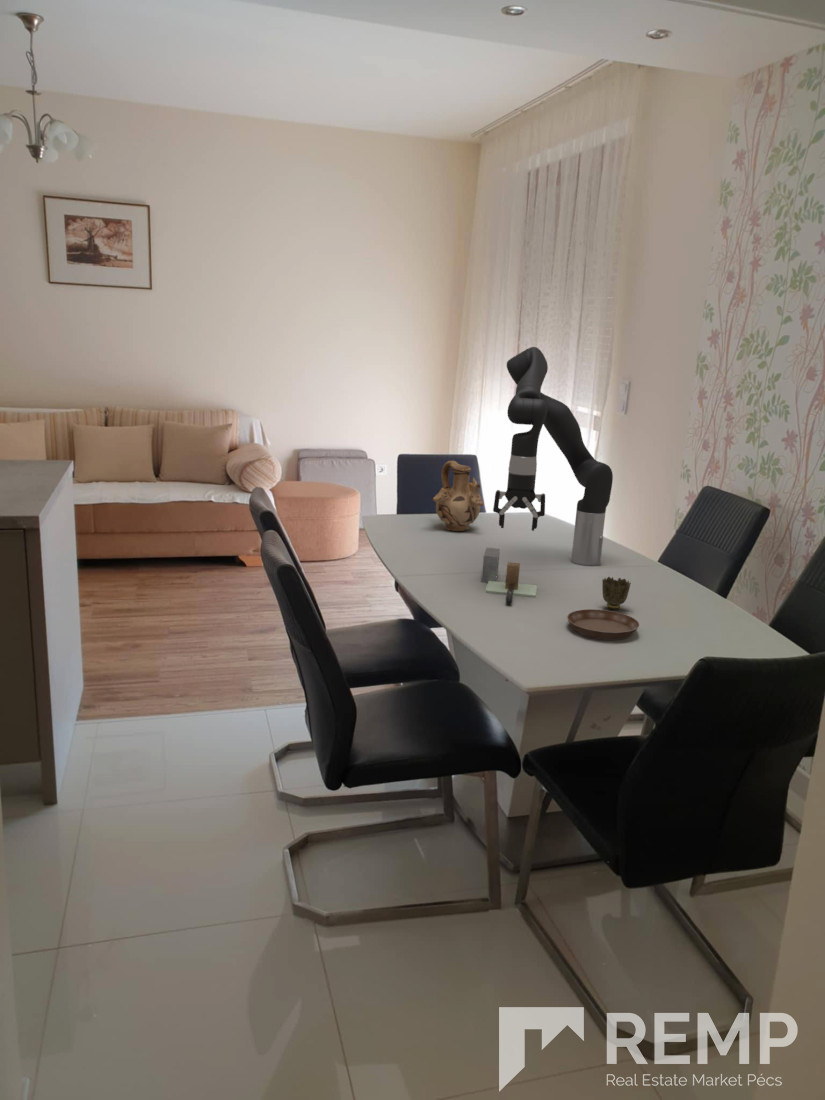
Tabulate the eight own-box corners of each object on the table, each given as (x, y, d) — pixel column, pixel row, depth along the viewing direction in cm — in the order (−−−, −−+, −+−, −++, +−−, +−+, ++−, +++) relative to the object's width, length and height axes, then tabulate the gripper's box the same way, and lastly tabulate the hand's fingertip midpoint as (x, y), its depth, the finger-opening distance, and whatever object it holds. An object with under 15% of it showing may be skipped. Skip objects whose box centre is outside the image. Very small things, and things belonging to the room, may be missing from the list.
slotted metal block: (497, 574, 254) (499, 548, 252) (495, 583, 244) (497, 556, 242) (484, 573, 255) (486, 547, 253) (481, 582, 245) (483, 555, 243)
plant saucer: (551, 628, 210) (553, 617, 209) (591, 615, 222) (592, 604, 221) (612, 649, 198) (614, 637, 197) (651, 633, 210) (652, 622, 209)
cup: (627, 606, 230) (631, 578, 228) (626, 614, 223) (630, 585, 221) (600, 603, 232) (603, 575, 230) (598, 610, 225) (601, 582, 223)
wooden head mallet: (505, 585, 241) (507, 561, 239) (517, 586, 240) (520, 563, 239) (502, 603, 224) (504, 578, 223) (515, 604, 224) (517, 579, 222)
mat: (536, 587, 243) (536, 585, 243) (535, 597, 233) (535, 595, 233) (488, 582, 245) (488, 580, 245) (485, 592, 235) (485, 590, 235)
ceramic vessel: (430, 533, 302) (435, 464, 296) (432, 521, 321) (436, 456, 314) (480, 536, 302) (486, 467, 295) (479, 525, 320) (485, 460, 314)
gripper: (548, 471, 233) (543, 528, 237) (497, 467, 235) (493, 524, 239) (548, 475, 226) (542, 534, 230) (495, 471, 228) (491, 529, 232)
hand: (517, 528), depth 234 cm, fingers open, 8 cm apart
